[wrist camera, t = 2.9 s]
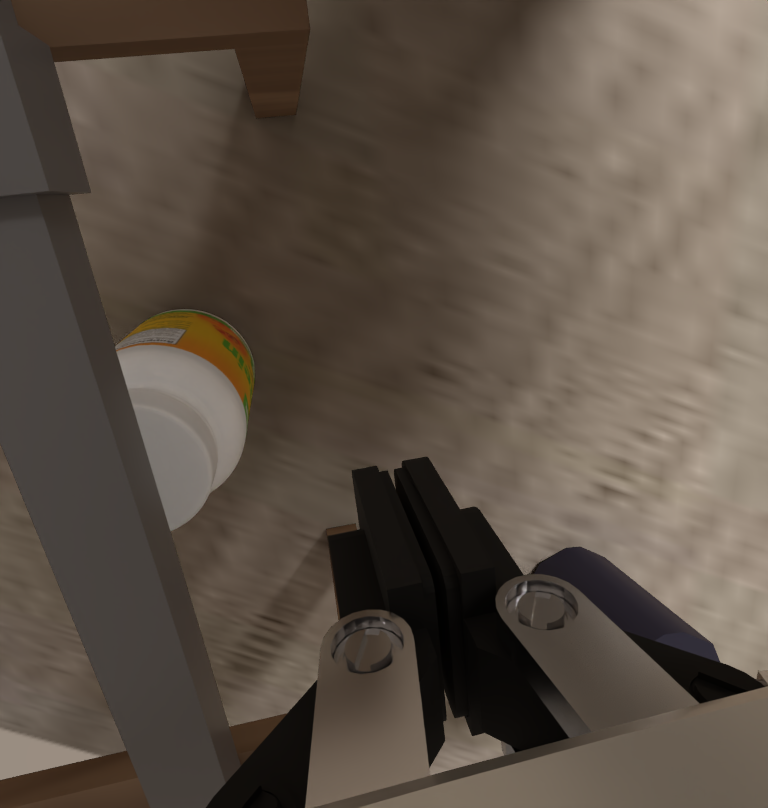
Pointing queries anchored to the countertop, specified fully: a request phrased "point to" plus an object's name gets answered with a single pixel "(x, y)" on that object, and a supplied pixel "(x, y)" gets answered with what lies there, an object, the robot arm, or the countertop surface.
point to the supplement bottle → (189, 403)
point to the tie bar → (93, 452)
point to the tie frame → (270, 96)
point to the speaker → (624, 600)
